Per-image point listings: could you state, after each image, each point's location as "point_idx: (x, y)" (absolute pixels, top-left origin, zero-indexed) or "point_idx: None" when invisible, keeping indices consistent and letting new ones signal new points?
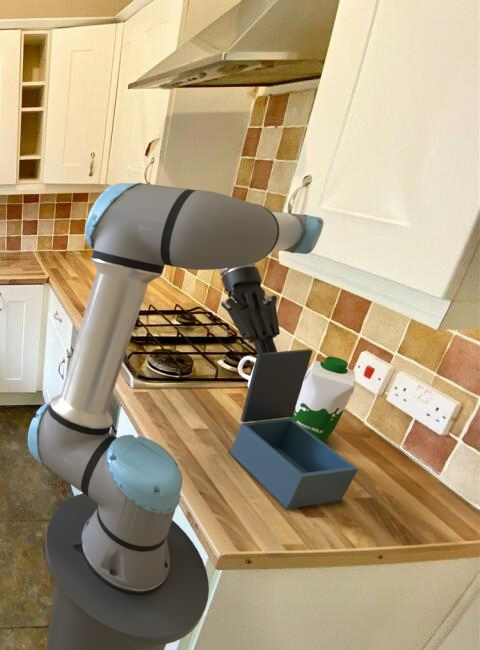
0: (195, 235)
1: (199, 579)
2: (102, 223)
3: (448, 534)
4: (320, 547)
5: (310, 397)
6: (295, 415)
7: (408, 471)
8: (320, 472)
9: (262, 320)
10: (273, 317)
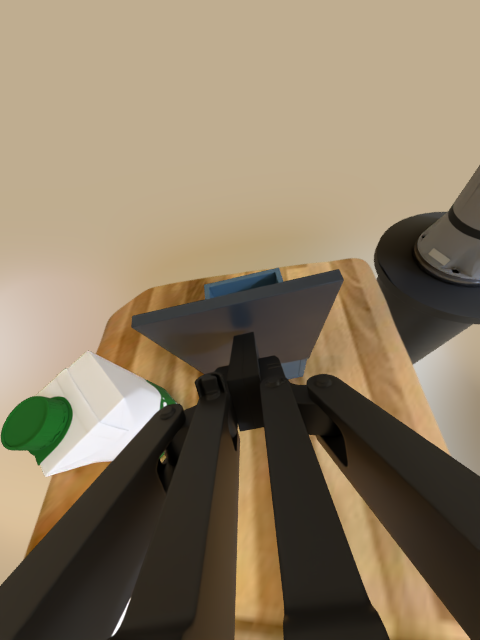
0: None
1: (384, 247)
2: None
3: (159, 290)
4: (274, 268)
5: (150, 398)
6: None
7: (109, 355)
8: (252, 275)
9: (217, 480)
10: (100, 511)
